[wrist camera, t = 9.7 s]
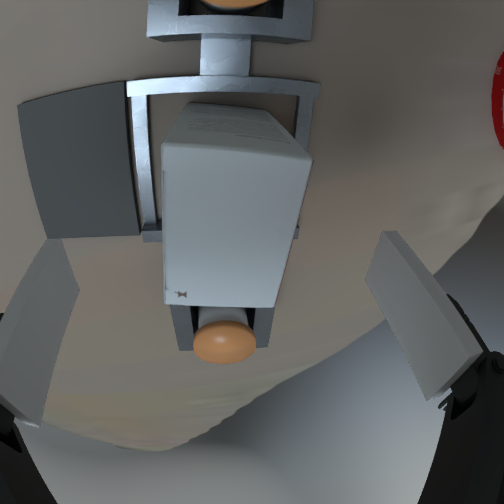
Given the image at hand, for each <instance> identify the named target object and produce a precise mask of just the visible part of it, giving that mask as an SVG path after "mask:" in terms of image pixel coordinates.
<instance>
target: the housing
mask: <svg viewBox="0 0 504 504" xmlns="http://www.w3.org/2000/svg"><path fill="white" fill-rule="evenodd" d="M188 3H189V0H149V2H148V18H147V37H149V38H152V39H155V40H159V41H162V42H168V41H184V40H201V61H200V75H186V76H168V77H155V78H145V79H135V80H131V81H128V82H127V97H130V96H132V117H133V132H134V145H135V156H136V166H137V175H138V184H139V192H140V200H141V207H142V214H143V221H144V226H143V229H142V236H143V242H163V239H162V220H157V212H156V203H155V194H154V184H153V173H152V161H151V148H150V131H149V109H148V95H149V94H162V93H178V92H256V93H273V94H285V95H296V96H297V105H296V114H295V123H294V132H293V138H294V139H295V140H296V141H297V142H298V143H299V144H300V145H301V146H302V147H303V148H304V149H305V150H306V151H307V149H308V142H309V134H310V127H311V119H312V111H313V103H314V98H319V95H320V87H321V84H320V83H317V82H313V81H306V80H297V79H288V78H277V77H264V76H249V65H250V50H251V41H261V42H273V43H282V44H291V43H298V42H305V41H311V31H312V20H313V7H314V0H269V1H268V7H267V17H255V16H238V15H191V16H188ZM299 229H300V228H299V226H298V224H297V227H296V231H295V235H294V238H293V239H298V234H299ZM170 309H171V314H172V319H173V324H174V328H175V333H176V338H177V342H178V347H179V351H188V350H194V349H193V338H194V334H195V332H196V331H197V330H198V329H199V306H188V305H172V304H170ZM274 309H275V307H272V308H268V307H265V308H248V307H246V313H247V320H248V326H249V327H250V328H251V329H252V330H253V332H254V334H255V340H256V348H262V347H268V343H269V338H270V332H271V326H272V321H273V315H274Z"/></svg>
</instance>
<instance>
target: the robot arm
mask: <svg viewBox="0 0 504 504" xmlns="http://www.w3.org/2000/svg"><path fill="white" fill-rule="evenodd" d="M365 281H366V283H367V285H368V286H369V288H370V290H371V292H372V293H373V295H374V297H375V299H376V301H377V302H378V304H379V306H380V308H381V310H382V311H383V313H384V315H385V317H386V319H387V321H388V323H389V324H390V326H391V328H392V330H393V332H394V334H395V336H396V338H397V340H398V342H399V344H400V346H401V348H402V350H403V352H404V354H405V356H406V358H407V360H408V362H409V364H410V366H411V368H412V370H413V372H414V374H415V377H416V379H417V381H418V383H419V385H420V387H421V390H422V392H423V394H424V396H425V398H426V401H429V400H431V399H434V398H436V397H439V396H441V395H442V394H443V393H444V392H445V391H446V390H447V389H449V388H451V390H452V393H451V394H450V395H449V396H447V397H446V398H445V399H444V400H443V401H442V402H441V403H440V404H439V406H438V408H439V409H440V408H441V407H442V406H444V405H445V404H446V403H447V406H446V407H445V408H444V409H443V410H444V411H446V412H445V417H444V421H443V426H442V430H441V434H440V438H439V441H438V445H437V449H436V452H435V456H434V459H433V462H432V465H431V468H430V471H429V474H428V477H427V480H426V483H425V486H424V488H423V491H422V494H421V496H420V499H419V501H418V504H504V355H502V354H501V353H500V352H496V351H493V352H490V351H489V349H488V348H487V346H486V345H485V343H484V342H483V340H482V338H481V337H480V335H479V334H478V332H477V330H476V329H475V327H474V326H473V324H472V323H471V322H470V321H469V318H468V317H467V315H466V314H464V311H463V309H462V308H461V307H460V305H459V304H458V302H457V301H455V300H454V299H453V298H452V297H451V296H450V295H449V294H445V292H444V291H443V290H442V288H441V287H440V285H439V284H438V283H437V281H436V280H435V279H434V277H433V276H432V275H431V273H430V272H429V271H428V269H427V268H426V267H425V266H424V264H423V263H422V262H421V260H420V259H419V258H418V257H417V255H416V254H415V253H414V252H413V250H412V249H411V248H410V247H409V246H408V244H407V243H406V242H405V241H404V239H403V238H402V237H401V236H400V235H399V234H398V232H397V231H382V233H381V236H380V239H379V242H378V245H377V248H376V250H375V253H374V256H373V259H372V262H371V264H370V267H369V270H368V272H367V275H366V278H365ZM79 291H80V289H79V287H78V284H77V282H76V279H75V277H74V274H73V272H72V269H71V266H70V263H69V261H68V258H67V255H66V252H65V249H64V246H63V243H62V240H61V239H50V240H46V241H45V242H44V244H43V246H42V247H41V249H40V250H39V252H38V253H37V255H36V257H35V258H34V260H33V262H32V263H31V265H30V267H29V268H28V270H27V272H26V273H25V275H24V277H23V279H22V280H21V282H20V284H19V286H18V288H17V289H16V291H15V293H14V295H13V297H12V299H11V301H10V303H9V305H8V307H7V309H6V311H5V313H0V504H57V502H56V500H55V499H54V497H53V496H52V494H51V492H50V491H49V489H48V487H47V486H46V484H45V482H44V480H43V479H42V477H41V475H40V473H39V471H38V470H37V468H36V466H35V464H34V462H33V460H32V458H31V456H30V454H29V452H28V450H27V447H26V445H25V444H24V441H23V439H22V436H21V434H20V432H19V429H18V428H17V426H16V424H15V423H14V422H13V421H14V417H16V418H18V419H19V420H20V421H21V422H23V423H24V424H28V425H31V426H35V427H39V428H40V427H41V422H42V417H43V412H44V407H45V402H46V398H47V393H48V389H49V385H50V381H51V377H52V373H53V369H54V366H55V362H56V359H57V355H58V352H59V348H60V345H61V342H62V339H63V336H64V332H65V329H66V326H67V324H68V321H69V318H70V315H71V312H72V309H73V307H74V304H75V301H76V298H77V296H78V293H79Z"/></svg>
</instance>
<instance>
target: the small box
mask: <svg viewBox="0 0 504 504" xmlns="http://www.w3.org/2000/svg"><path fill="white" fill-rule="evenodd" d="M313 161H314V160H313V158H312V157H311V156H310V155H309V153H308V152H307V151H306V150H305V149H304V148H303V147H302V146H301V145H300V144H299V143H298V142H297V141H296V140H295V139H294V138H293V136H292V135H291V134H290V133H289V132H288V131H287V130H286V129H285V128H284V127H283V126H282V125H281V124H280V123H279V122H278V121H277V120H276V119H275V118H274V117H273V116H272V115H271V114H270V113H269V112H268V111H266V110H261V109H254V108H246V107H238V106H228V105H217V104H204V103H187V105H186V106H185V108H184V109H183V111H182V112H181V114H180V115H179V117H178V118H177V120H176V122H175V123H174V125H173V126H172V128H171V129H170V131H169V133H168V134H167V136H166V137H165V139H164V141H163V142H162V144H161V171H162V239H163V269H164V303H165V304H172V305H188V306H214V307H248V308H265V307H268V308H272V307H275V304H276V300H277V297H278V293H279V290H280V286H281V283H282V279H283V275H284V272H285V268H286V265H287V261H288V257H289V253H290V250H291V246H292V242H293V238H294V235H295V231H296V227H297V223H298V220H299V215H300V211H301V208H302V204H303V200H304V196H305V192H306V189H307V185H308V181H309V176H310V172H311V168H312V165H313Z"/></svg>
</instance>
